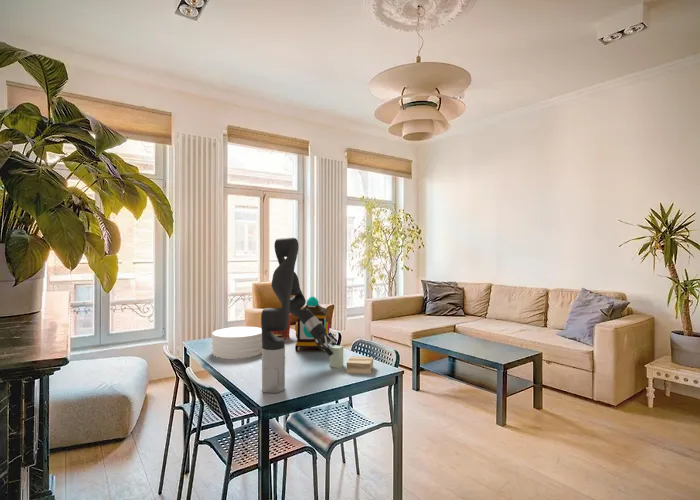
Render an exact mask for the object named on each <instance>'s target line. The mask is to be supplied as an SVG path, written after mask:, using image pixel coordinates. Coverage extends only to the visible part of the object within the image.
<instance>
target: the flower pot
mask: <svg viewBox="0 0 700 500" xmlns="http://www.w3.org/2000/svg"><path fill="white" fill-rule="evenodd" d="M292 316H293V314H292V313H290V312H289V320H288V326H287V328H286V330H284V331H271V333H272V334H273V335H274V334H281V335H282V339H283V340H286V339H288V338H290V331H291V330H290V329H291V320H292Z"/></svg>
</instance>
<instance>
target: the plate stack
mask: <svg viewBox="0 0 700 500" xmlns="http://www.w3.org/2000/svg"><path fill="white" fill-rule="evenodd" d="M211 335H212V337H211V338H212V339H211V341H212V343H211V344H212V347H211V348H212V349H211V350H212V351H211V353H212V354H213V355H214V356H213V355H212V356H213V357H215V356H216V357H215V358H218V357H220V358H219V359H224V358H225V359H229V360H233V359H234V360H238V359H246V358H247V357H248V358H252V356H253V357H256V356H258V355H259V356H260V355H262V329H261V327H257V326H232V327H226V328H225V327H224V328H220V329H216V330H214V331H212V334H211ZM248 358H247V359H248ZM225 359H224V360H225Z"/></svg>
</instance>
